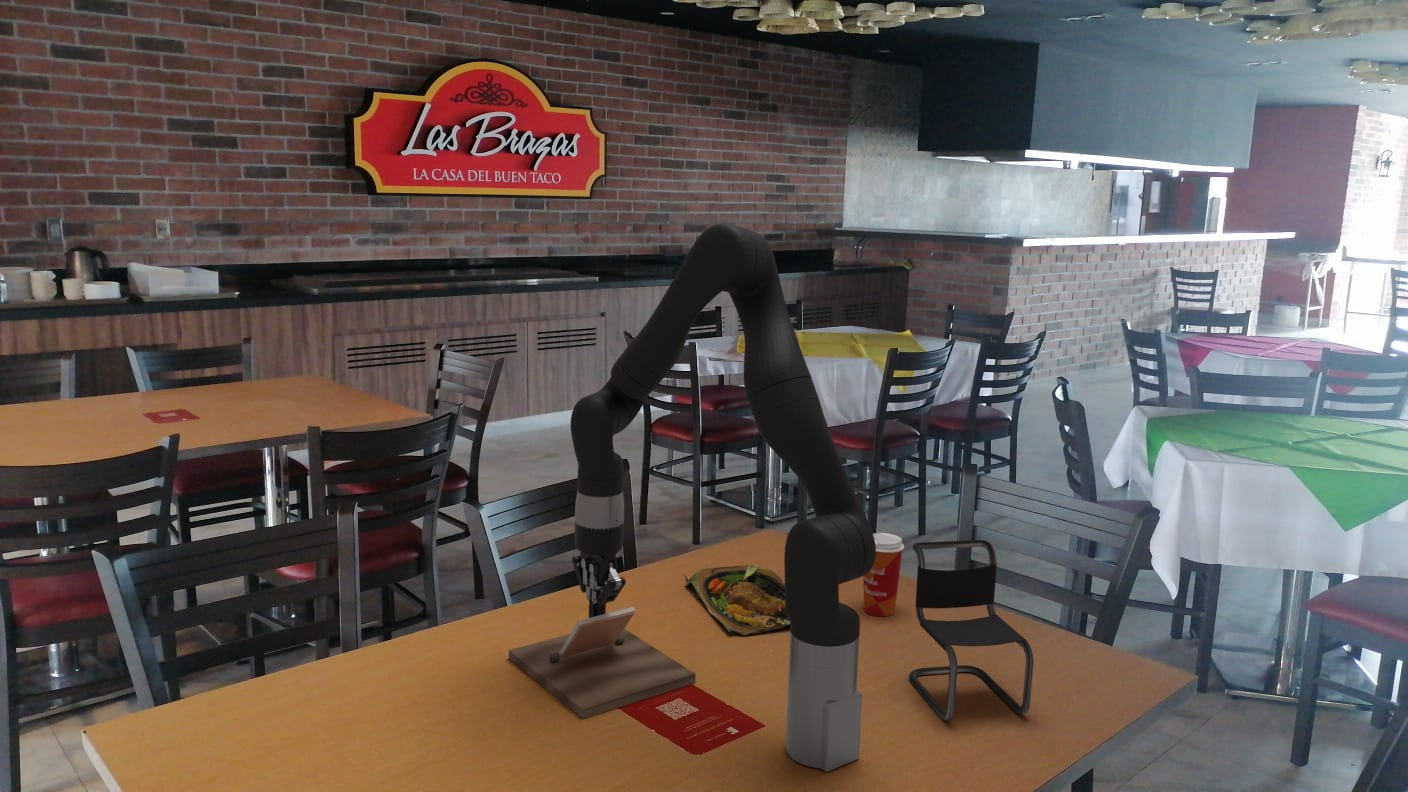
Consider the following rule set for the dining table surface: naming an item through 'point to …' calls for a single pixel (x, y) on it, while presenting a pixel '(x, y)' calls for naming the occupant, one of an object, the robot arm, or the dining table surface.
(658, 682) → the walnut board
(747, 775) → the dining table surface
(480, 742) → the dining table surface
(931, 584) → the chair
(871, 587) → the paper cup
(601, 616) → the tile
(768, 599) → the prepared meal
